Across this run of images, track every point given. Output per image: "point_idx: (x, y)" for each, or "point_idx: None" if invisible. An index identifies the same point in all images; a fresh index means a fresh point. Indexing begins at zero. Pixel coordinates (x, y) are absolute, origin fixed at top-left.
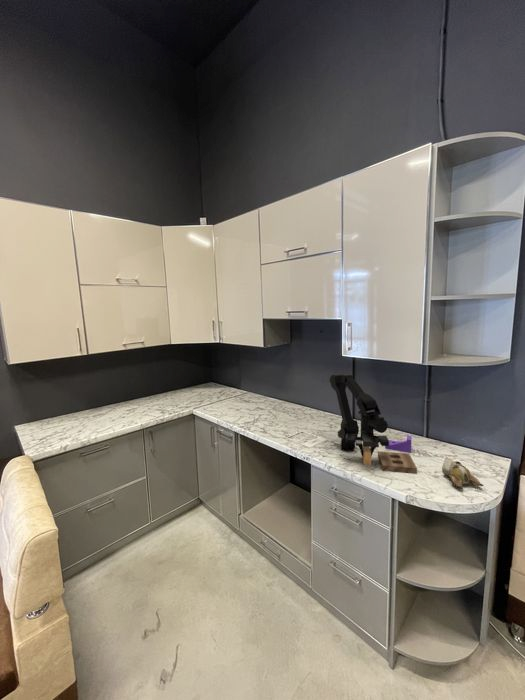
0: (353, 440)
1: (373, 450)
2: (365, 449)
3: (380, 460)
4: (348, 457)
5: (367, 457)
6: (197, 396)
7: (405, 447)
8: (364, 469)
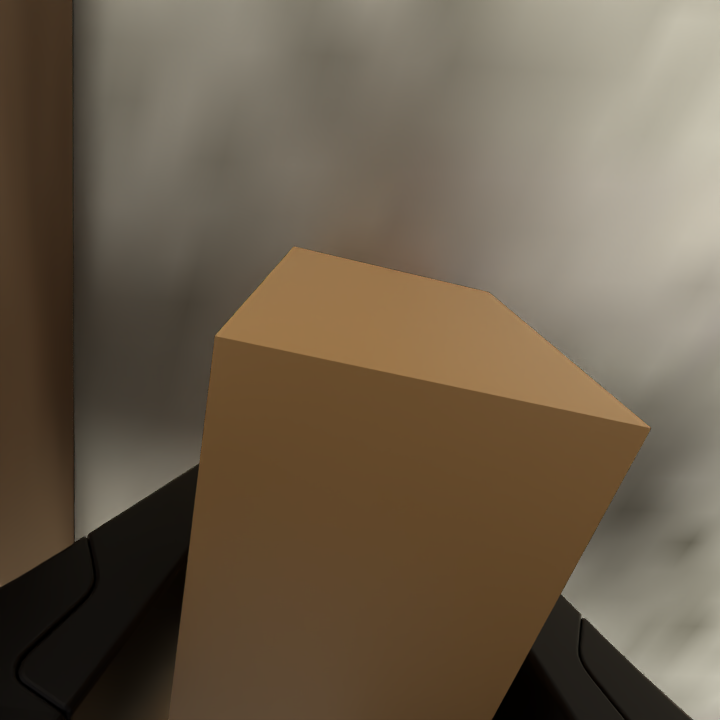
0: None
1: (25, 588)
2: (424, 669)
3: (11, 325)
4: (602, 564)
5: (408, 290)
6: None
7: None
8: (526, 59)
